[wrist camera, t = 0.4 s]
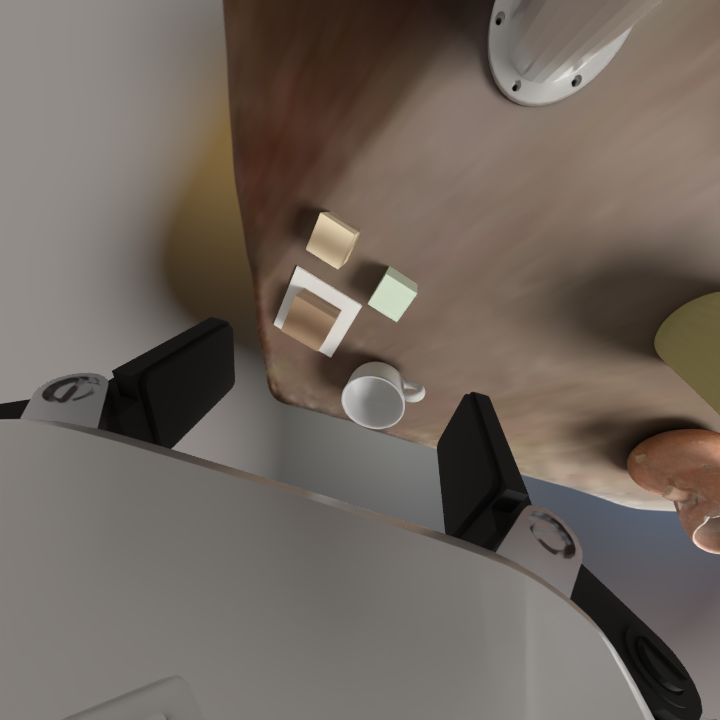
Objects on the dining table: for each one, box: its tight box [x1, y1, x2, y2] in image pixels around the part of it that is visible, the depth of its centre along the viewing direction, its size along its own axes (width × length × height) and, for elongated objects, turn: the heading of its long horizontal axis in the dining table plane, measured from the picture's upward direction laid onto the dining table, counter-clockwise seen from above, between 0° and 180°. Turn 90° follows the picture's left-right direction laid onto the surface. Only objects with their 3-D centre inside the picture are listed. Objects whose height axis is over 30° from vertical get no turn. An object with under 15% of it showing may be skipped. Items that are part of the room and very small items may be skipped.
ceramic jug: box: [627, 429, 720, 554], centre depth 41 cm, size 18×14×14 cm
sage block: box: [368, 266, 417, 322], centre depth 39 cm, size 5×5×5 cm
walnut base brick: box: [281, 288, 342, 352], centre depth 44 cm, size 7×7×4 cm
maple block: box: [306, 211, 361, 269], centre depth 37 cm, size 5×5×5 cm
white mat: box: [274, 266, 362, 357], centre depth 46 cm, size 12×12×1 cm
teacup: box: [342, 362, 425, 429], centre depth 47 cm, size 14×11×8 cm
